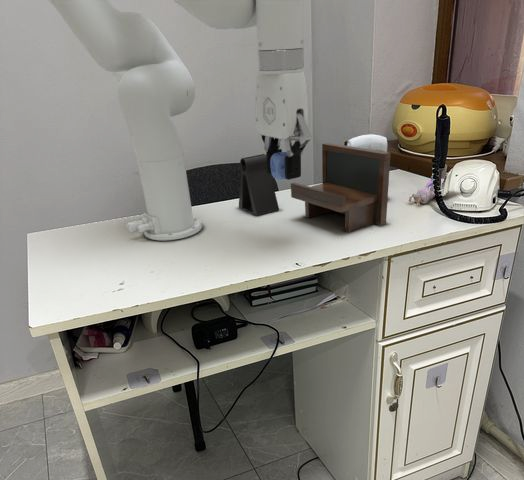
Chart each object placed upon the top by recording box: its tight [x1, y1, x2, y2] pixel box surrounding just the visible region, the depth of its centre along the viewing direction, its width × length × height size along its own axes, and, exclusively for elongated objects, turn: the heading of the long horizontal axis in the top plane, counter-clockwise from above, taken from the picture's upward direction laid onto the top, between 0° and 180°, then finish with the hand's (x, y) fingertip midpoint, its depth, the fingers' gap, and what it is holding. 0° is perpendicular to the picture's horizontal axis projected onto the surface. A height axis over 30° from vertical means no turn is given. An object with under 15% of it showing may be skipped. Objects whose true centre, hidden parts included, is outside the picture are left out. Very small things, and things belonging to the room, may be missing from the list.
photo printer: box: [346, 133, 388, 152], centre depth 122 cm, size 10×4×12 cm, turn 98°
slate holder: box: [290, 142, 391, 233], centre depth 101 cm, size 11×18×14 cm, turn 34°
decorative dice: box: [270, 151, 288, 180], centre depth 90 cm, size 4×4×4 cm
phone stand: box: [238, 153, 280, 217], centre depth 113 cm, size 9×6×12 cm, turn 30°
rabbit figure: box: [408, 174, 444, 207], centre depth 111 cm, size 6×6×15 cm
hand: (283, 174), depth 91 cm, fingers closed on decorative dice, 5 cm apart
